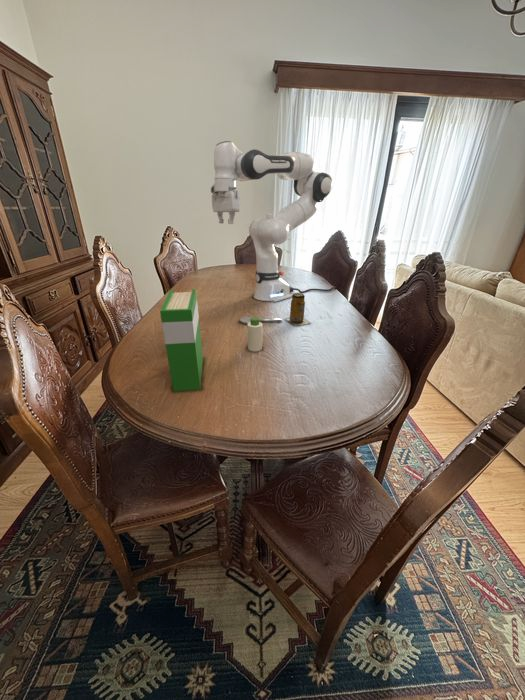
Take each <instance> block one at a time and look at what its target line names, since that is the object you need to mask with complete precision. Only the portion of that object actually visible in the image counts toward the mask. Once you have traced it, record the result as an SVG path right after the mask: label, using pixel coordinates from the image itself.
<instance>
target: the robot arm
mask: <svg viewBox="0 0 525 700" xmlns="http://www.w3.org/2000/svg"><path fill="white" fill-rule="evenodd" d="M214 146H215V147H214V150H213V151H214V152H213V153H214V154H213V155H214V156H213V167H214V171H215V172H214V183H213V184H212V186H211V187H210V193H211V207H212V211H213V213H216V216H217V218H218V224H224V223H225V221H224V220H225V219H224V213H228V216H229V217H228V219H227V223H228V224H229V225H233V224H234V219H235V216H236V213H239V212H240V211H241V201H240V200H241V199H240V194H239V192H238V189H237V181H239V182H247V181H252V180H254V181H255V180H256V181H257V180H260V179H262V178H264V177H265V176H266V175H268V174H272V175H273V174H276V175H277V177H278V178H279V179H280V180H283V181H293V191H294V193H295V195H297V196H299V198H298V199H297V200H295V201H293V202H291V203H290V204H287V205H286V206H284V207H283V208H281V209H280V210H279V212H278V214H277V215H276V216H274V217H272V218H264V217H259V218H256V219H254V220H252V221H251V222H250V224H249V226H248V232H249V235H250V237H251V240H252V242H253V247H254V250H255V251H254V252H255V256H256V258H255V259H256V263H255V264H256V269H255V288H254V294H253V299H255V300H257V301H262V302H273V303H274V302H275V303H277V302H280V301H283V300H287V299H291V298H292V295H293V294H294V291H298V293H301V294H304V293H307V292H311V291H320V292H330V291H332V290H333V289H334V290H337V287H336V286H332V287H330V288H329V289H327V288H325V289H324V288H309V289H306V290H301V289H299V288H297V287H293V286H290V285H289V283H288V282H287V281H285V280H284V279H283V278H282V277H283V276H284V274H285V273H284V272H283V271H279V270H278V269H279V268H278V267H279V266H278V265H279V255H278V253H277V251H276V249H275V246H276V245H282V244H285V242H286V241H287V239H288V237H289V234H290V233H291V232H292V231H293V230H295V229H296V228H298V227H299V226H301V225H302V224H304V223H306V222H307V221H308V220H309V219H311V218H312V217H313V216H314V215H315V214H316V212H317V210H318V203H321V202H323V201H324V199H325V198H327V197H328V195H329V194H330V193H331V191H332V189H333V178H332V176H331V175H330V174H328V173H326V172H316V171H315V170H314V169H315V160H314V158H313V156H312V155H310V154H309V153H304V152H300V151H299V152H298V151H289V152H288V151H287V152H283V153H281V154H279V155H270V154H269V155H268V154H266V153H264V152H263V151H261V150H260V149H255V148H254V149H251V150H249V151H247V152H245V153H244V152H242V151H241V150H240V149H239V148H238V147H237V146H236V145H235V143H234V142H233V141H231V140H224V141H221V142H218V143H217V144H216V145H214Z"/></svg>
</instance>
